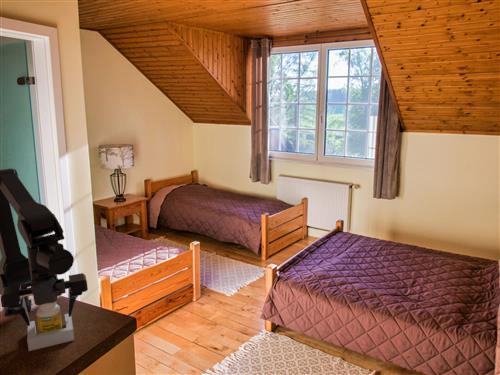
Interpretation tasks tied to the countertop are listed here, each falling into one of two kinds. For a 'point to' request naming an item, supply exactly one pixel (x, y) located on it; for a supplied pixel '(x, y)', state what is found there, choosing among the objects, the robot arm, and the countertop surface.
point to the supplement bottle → (49, 317)
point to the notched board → (49, 335)
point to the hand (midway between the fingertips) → (49, 320)
